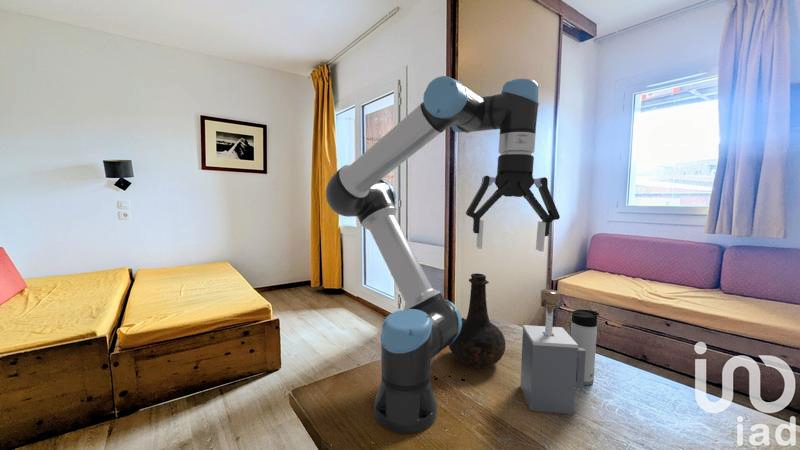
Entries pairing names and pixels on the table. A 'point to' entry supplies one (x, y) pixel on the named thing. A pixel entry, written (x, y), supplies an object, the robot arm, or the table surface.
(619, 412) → the table surface
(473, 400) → the table surface
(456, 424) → the table surface
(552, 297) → the plunger
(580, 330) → the travel mug
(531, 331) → the press
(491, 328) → the glass bottle
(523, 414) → the table surface
